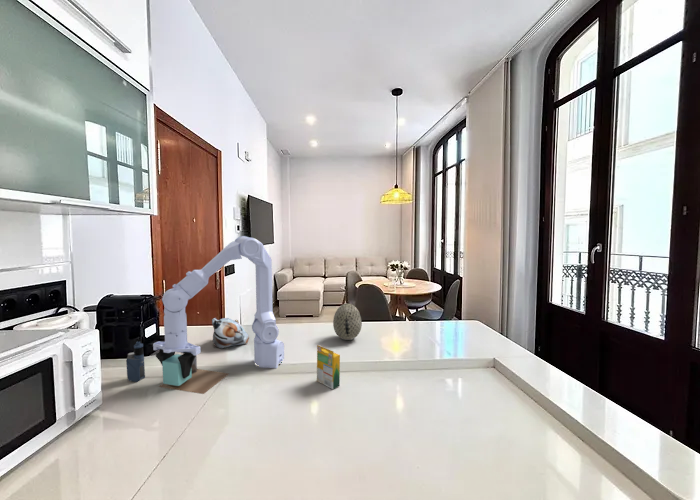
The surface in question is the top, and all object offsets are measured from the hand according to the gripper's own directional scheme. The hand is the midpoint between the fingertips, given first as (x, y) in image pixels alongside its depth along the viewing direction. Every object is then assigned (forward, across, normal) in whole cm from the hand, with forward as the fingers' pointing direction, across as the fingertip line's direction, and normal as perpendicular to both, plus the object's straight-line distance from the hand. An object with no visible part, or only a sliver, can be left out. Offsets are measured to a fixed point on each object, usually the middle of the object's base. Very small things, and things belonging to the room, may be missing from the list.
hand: (177, 375), depth 94 cm
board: (+3, +4, +3) cm, 6 cm away
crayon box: (+4, +42, +13) cm, 44 cm away
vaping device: (+4, -15, 0) cm, 15 cm away
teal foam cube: (+2, 0, 0) cm, 2 cm away
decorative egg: (+4, +39, +49) cm, 63 cm away
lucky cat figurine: (+4, -3, +31) cm, 32 cm away
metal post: (+3, -1, +7) cm, 8 cm away
